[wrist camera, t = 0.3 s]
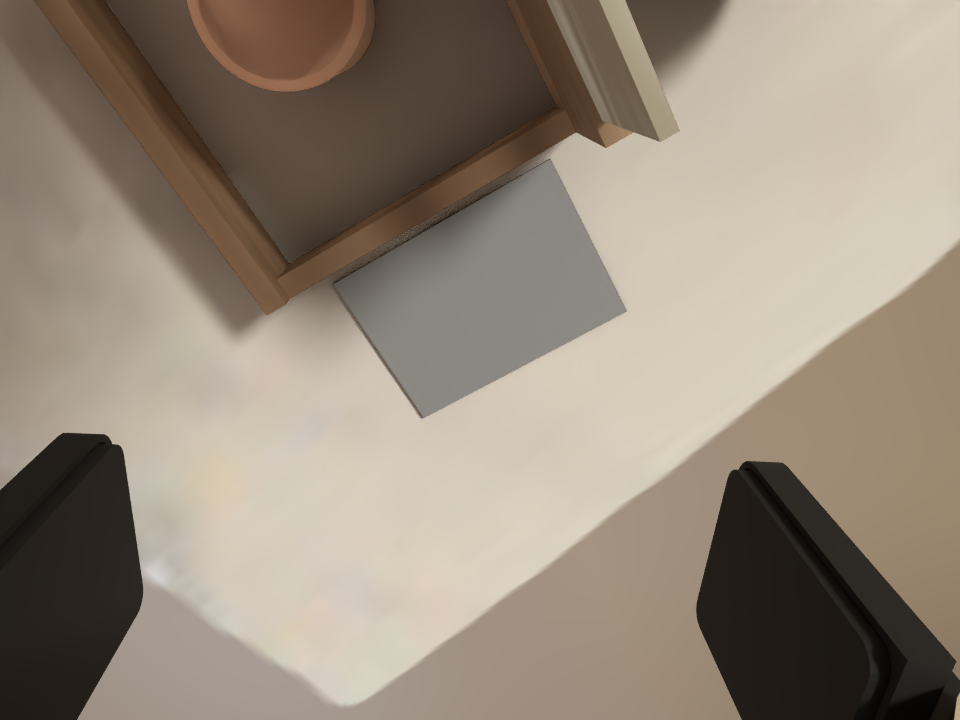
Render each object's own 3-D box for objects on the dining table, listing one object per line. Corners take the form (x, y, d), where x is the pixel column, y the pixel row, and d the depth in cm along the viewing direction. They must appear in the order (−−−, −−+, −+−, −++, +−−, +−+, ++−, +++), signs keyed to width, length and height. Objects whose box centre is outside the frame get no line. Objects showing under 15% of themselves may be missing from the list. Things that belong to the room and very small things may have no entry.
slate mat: (550, 158, 37) (550, 158, 37) (626, 310, 40) (626, 311, 40) (333, 283, 39) (332, 284, 39) (423, 416, 43) (423, 418, 42)
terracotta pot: (332, -100, 32) (296, -149, 24) (409, 41, 34) (397, 34, 27) (214, -19, 33) (146, -43, 26) (297, 111, 35) (257, 123, 28)
